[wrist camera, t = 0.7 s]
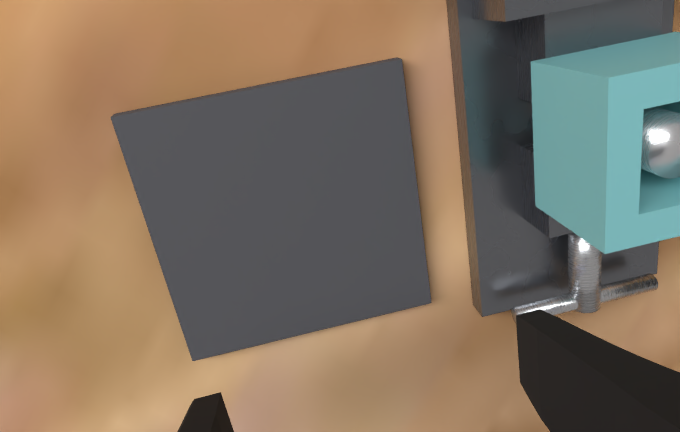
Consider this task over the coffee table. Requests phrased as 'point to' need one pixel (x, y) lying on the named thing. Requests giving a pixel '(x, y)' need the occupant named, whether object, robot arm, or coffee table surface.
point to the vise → (518, 154)
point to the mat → (281, 205)
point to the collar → (605, 141)
